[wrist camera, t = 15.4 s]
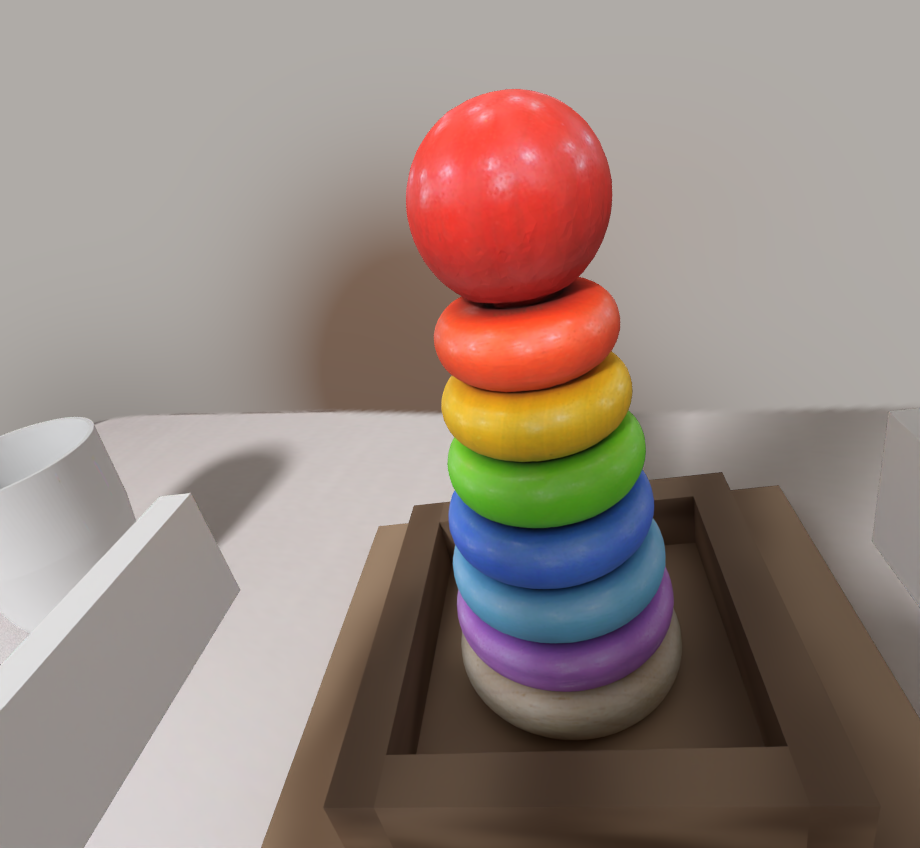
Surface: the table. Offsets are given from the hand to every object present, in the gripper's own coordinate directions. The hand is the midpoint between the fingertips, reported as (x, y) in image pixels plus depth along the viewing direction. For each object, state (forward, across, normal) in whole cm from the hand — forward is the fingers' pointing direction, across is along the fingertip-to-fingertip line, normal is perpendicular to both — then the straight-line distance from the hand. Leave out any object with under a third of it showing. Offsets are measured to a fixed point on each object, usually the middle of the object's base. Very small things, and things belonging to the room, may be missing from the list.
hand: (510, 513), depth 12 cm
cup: (+11, -25, -13) cm, 30 cm away
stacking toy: (+7, 0, -12) cm, 13 cm away
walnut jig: (+7, 0, -12) cm, 14 cm away
